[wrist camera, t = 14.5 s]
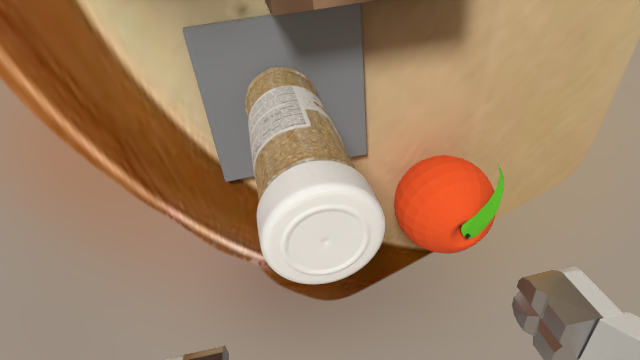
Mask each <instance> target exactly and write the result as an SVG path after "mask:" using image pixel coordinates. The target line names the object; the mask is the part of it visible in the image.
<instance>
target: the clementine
mask: <svg viewBox="0 0 640 360" xmlns="http://www.w3.org/2000/svg"><path fill="white" fill-rule="evenodd" d="M498 165H499V164H498ZM499 171H500V178H499V182H498V186H497V188H496V190H495V191H494V190H493V187H492V185H491V182H490V181H489V180H488V178H487V177H486V175H485V174H484V173H483V172H482V171H481V170H480V169H479V168H478V167H477V166H475V165H473V164H472V163H470V162H468V161H466V160H464V159H462V158H457V157H452V156H446V155H443V156H434V157H431V158H428V159H425V160H422V161H421V162H419V163H417V164H415V165H414V166H413V167H412V168H410V169H409V170H408V171H407V172H406V174H405V175H404V176H403V178H402V179H401V180H400V182H399V184H398V187H397V189H396V193H395V202H394V208H395V214H396V217H397V220H398V223H399V225H400V227H401V228H402V230H403V232H404V233H405V234H406V235H407V236H408V238H409V239H410V240H412V241H413V242H414V243H416V244H417V245H419V246H421V247H422V248H424V249H427V250H429V251H432V252H439V253H455V252H460V251H462V250H465V249H467V248H469V247H471V246H473V245H475V244H476V243H477V242H478V241H480V240H481V239H482V238H483V237H484V236H485V235H486V234H487V233H488V231H489V230H490V228H491V226H492V224H493V221H494V218H495V213H496V211H497V209H498V207H499V204H500V201H501V197H502V194H503V175H502V172H501V169H500V166H499Z"/></svg>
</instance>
